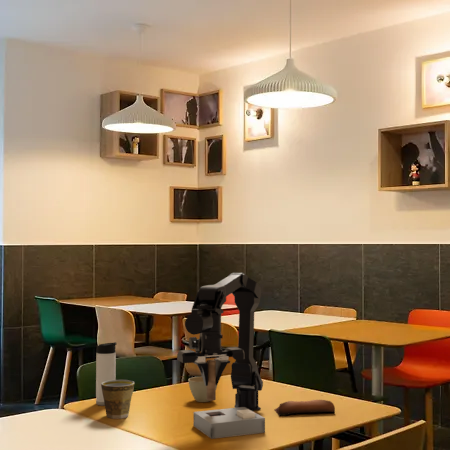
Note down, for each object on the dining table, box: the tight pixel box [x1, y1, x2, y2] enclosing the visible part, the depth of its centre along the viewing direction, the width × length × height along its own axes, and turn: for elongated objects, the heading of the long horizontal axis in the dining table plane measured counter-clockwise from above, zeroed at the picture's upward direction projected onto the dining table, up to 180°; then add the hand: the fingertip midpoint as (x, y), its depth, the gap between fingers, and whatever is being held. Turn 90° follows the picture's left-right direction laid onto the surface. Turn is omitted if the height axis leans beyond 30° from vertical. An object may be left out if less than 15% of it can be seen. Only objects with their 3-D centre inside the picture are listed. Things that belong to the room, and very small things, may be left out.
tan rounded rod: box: [206, 359, 217, 402], centre depth 193 cm, size 3×3×11 cm
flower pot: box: [187, 376, 218, 403], centre depth 226 cm, size 10×10×7 cm
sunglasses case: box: [273, 399, 336, 416], centre depth 210 cm, size 18×7×7 cm, turn 100°
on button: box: [237, 409, 256, 419], centre depth 189 cm, size 4×5×2 cm
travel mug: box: [95, 341, 117, 407], centre depth 222 cm, size 6×7×20 cm
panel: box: [192, 407, 266, 440], centre depth 191 cm, size 16×14×4 cm
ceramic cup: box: [101, 379, 135, 420], centre depth 206 cm, size 13×10×10 cm
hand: (211, 385), depth 193 cm, fingers closed on tan rounded rod, 3 cm apart
